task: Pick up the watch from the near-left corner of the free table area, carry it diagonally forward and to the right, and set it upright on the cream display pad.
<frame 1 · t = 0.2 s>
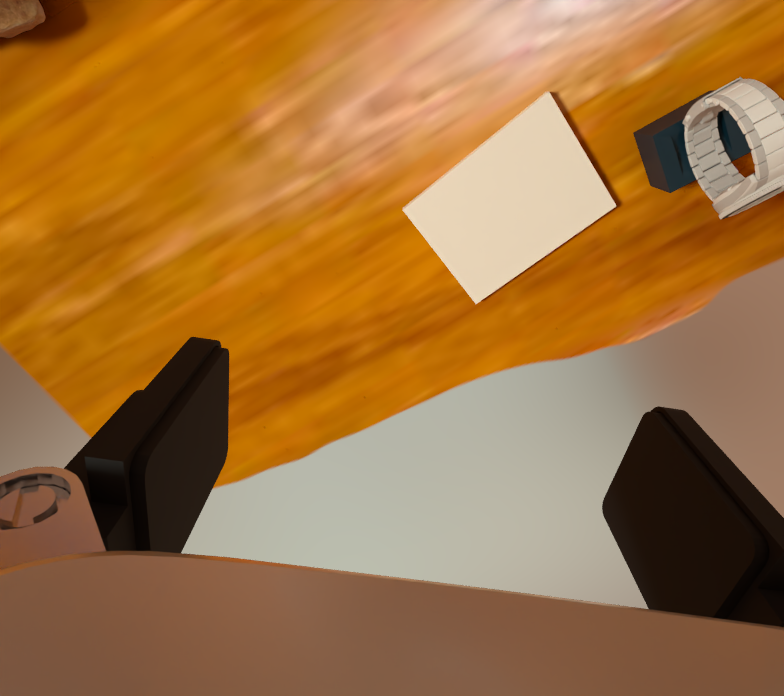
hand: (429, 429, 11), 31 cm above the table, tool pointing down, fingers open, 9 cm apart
display pad: (507, 205, 39), on the table
watch: (678, 140, 37), on the table
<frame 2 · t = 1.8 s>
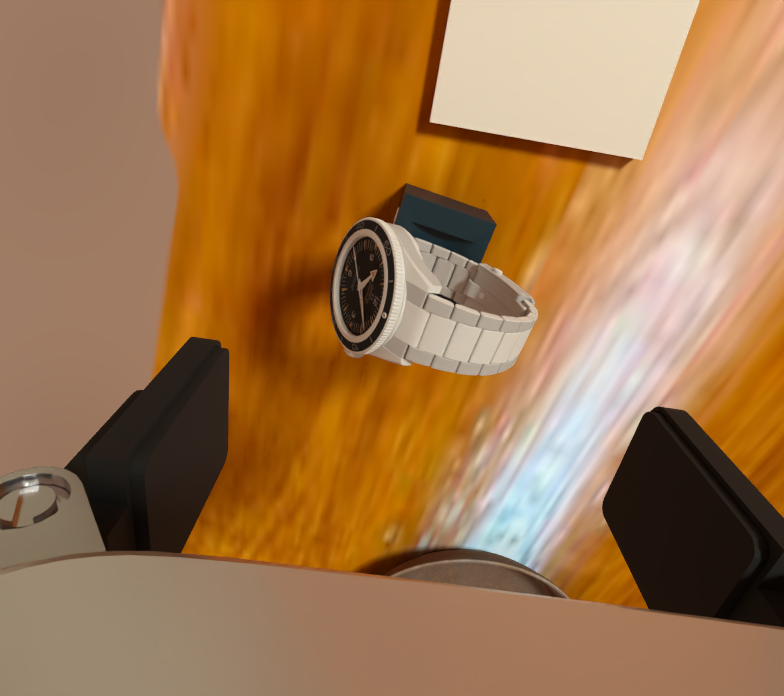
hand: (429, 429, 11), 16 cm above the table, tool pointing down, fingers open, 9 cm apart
watch: (425, 248, 26), on the table
plant saucer: (458, 609, 39), on the table
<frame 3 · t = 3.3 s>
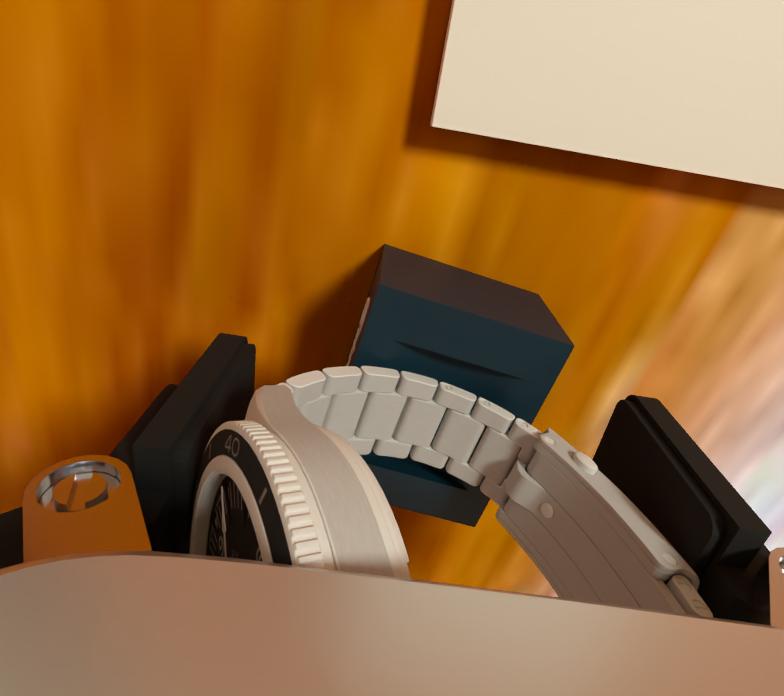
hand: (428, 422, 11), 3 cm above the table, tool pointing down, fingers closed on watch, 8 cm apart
watch: (423, 355, 14), on the table, touching gripper
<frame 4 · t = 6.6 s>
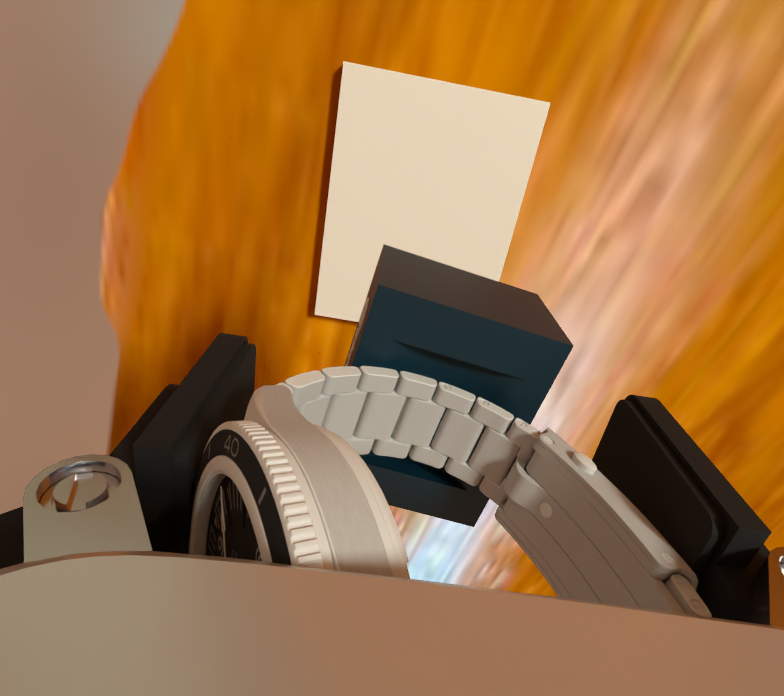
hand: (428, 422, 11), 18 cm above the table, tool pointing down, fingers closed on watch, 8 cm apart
display pad: (420, 216, 27), on the table
watch: (422, 355, 14), point 15 cm above the table, touching gripper
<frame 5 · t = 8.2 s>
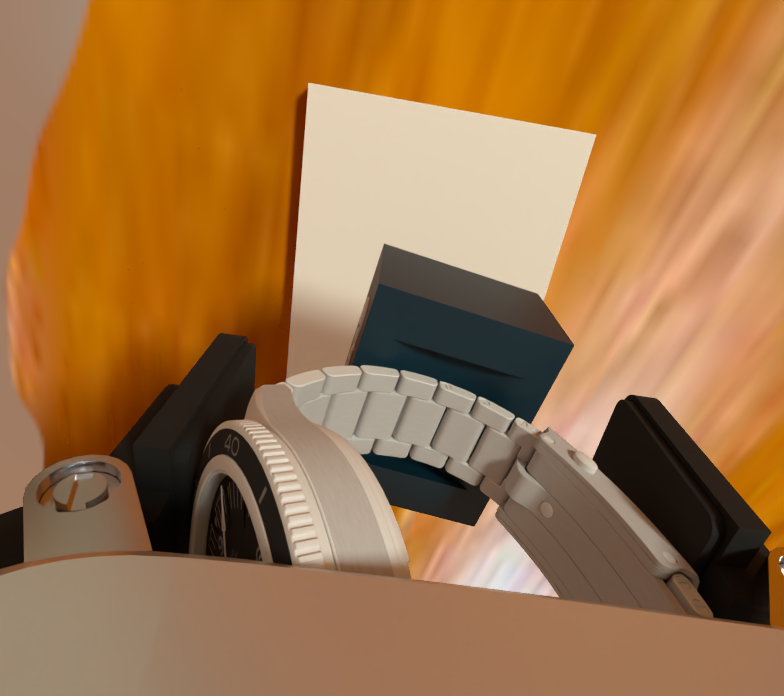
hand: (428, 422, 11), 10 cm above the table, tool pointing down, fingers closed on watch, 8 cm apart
display pad: (419, 281, 20), on the table
watch: (422, 354, 14), point 7 cm above the table, touching gripper
when the fingers open (5 cm above the table, at t = 9.8 s): watch stays where it is, resting on display pad.
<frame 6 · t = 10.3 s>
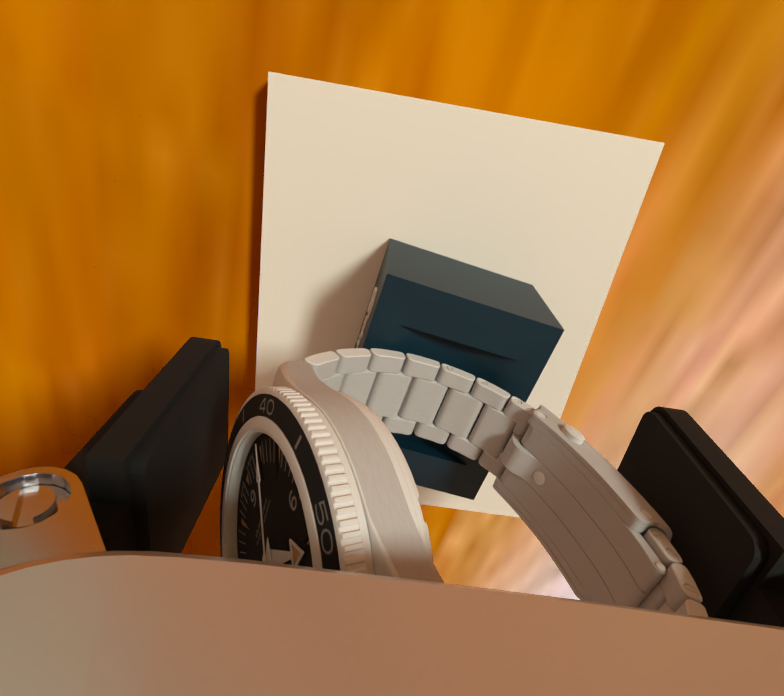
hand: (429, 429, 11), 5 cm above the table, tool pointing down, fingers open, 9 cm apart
display pad: (421, 330, 16), on the table
watch: (425, 342, 15), point 1 cm above the table, touching display pad
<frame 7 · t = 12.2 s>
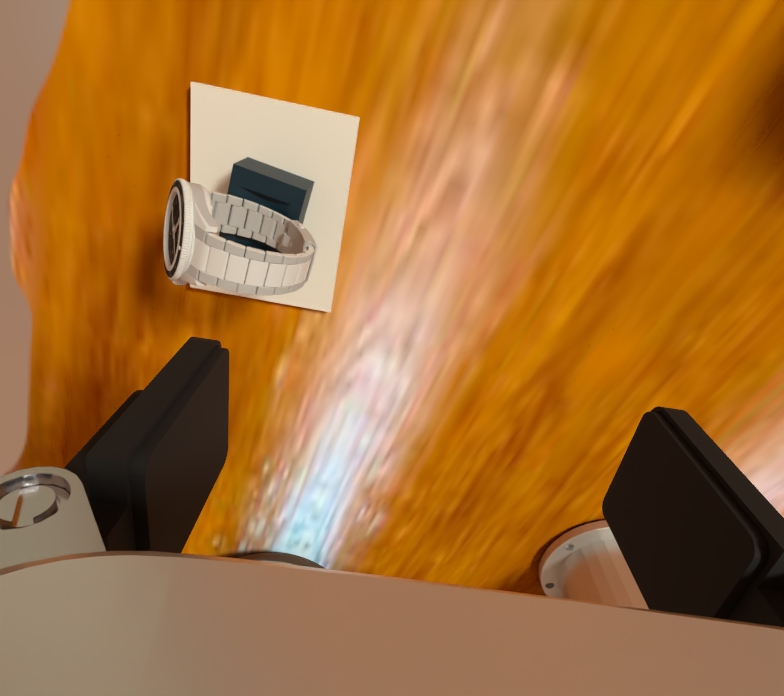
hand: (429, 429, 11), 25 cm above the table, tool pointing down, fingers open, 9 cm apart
display pad: (270, 206, 33), on the table
watch: (270, 210, 33), point 1 cm above the table, touching display pad
plant saucer: (279, 595, 52), on the table
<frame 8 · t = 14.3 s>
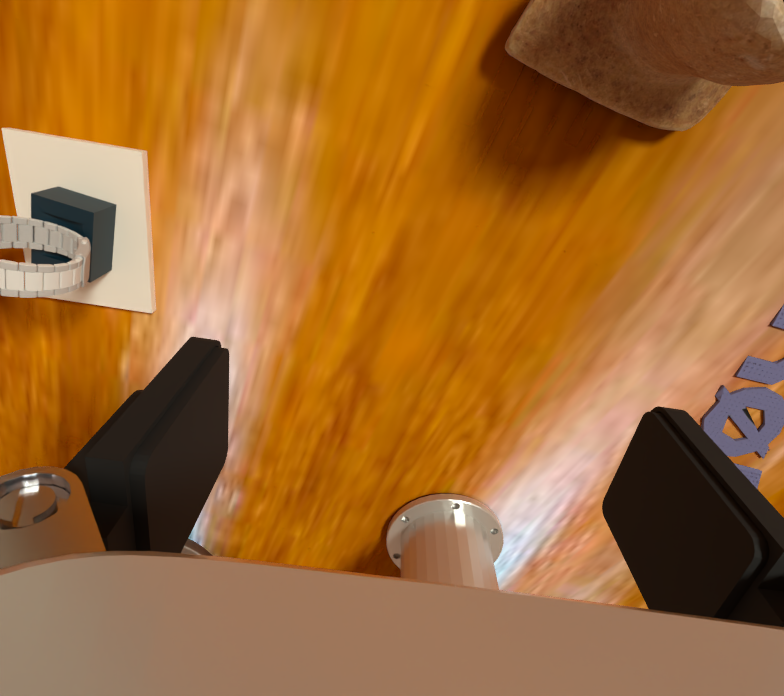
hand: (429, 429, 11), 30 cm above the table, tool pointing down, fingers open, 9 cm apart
brown rounded piece: (639, 13, 33), on the table
display pad: (88, 226, 40), on the table
watch: (86, 229, 39), point 1 cm above the table, touching display pad
signage: (774, 384, 46), on the table
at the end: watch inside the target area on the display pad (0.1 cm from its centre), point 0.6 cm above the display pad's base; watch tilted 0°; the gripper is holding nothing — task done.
